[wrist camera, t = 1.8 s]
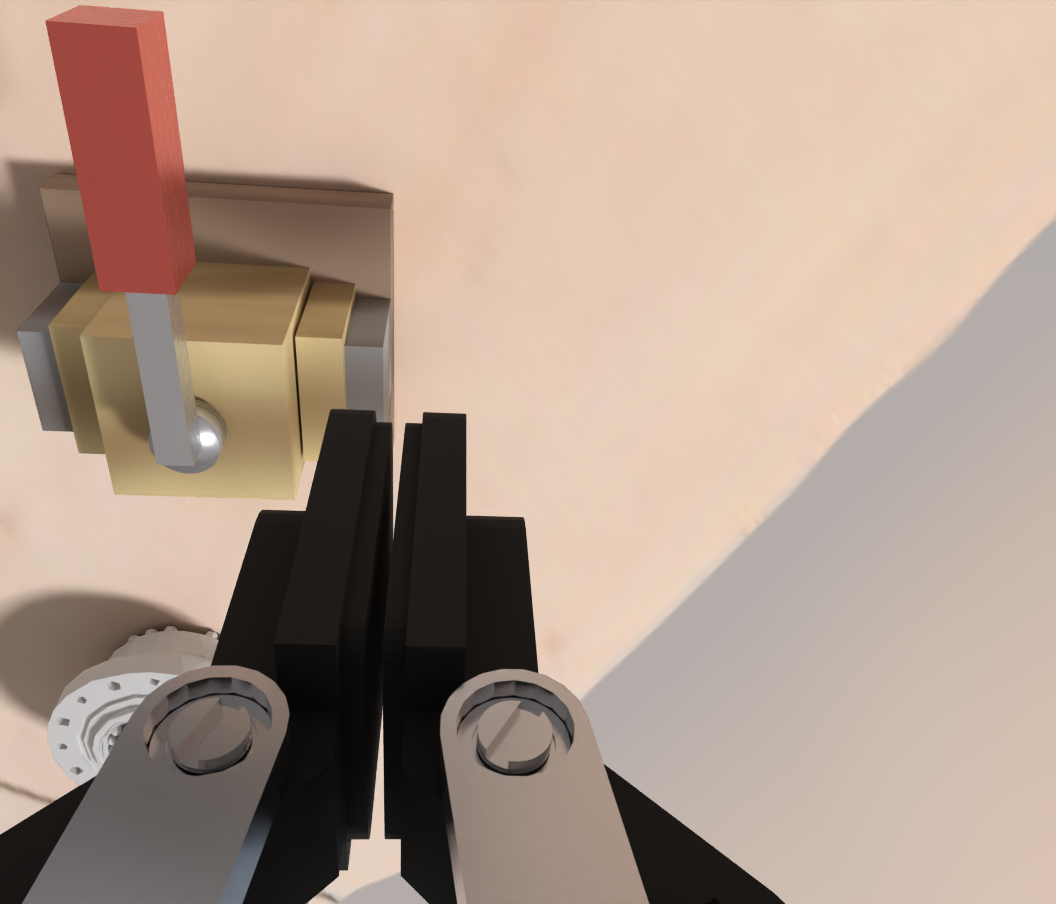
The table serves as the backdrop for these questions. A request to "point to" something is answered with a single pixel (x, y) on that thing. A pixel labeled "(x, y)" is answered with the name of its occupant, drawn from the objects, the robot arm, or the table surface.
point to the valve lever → (137, 207)
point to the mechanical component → (118, 695)
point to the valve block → (227, 334)
